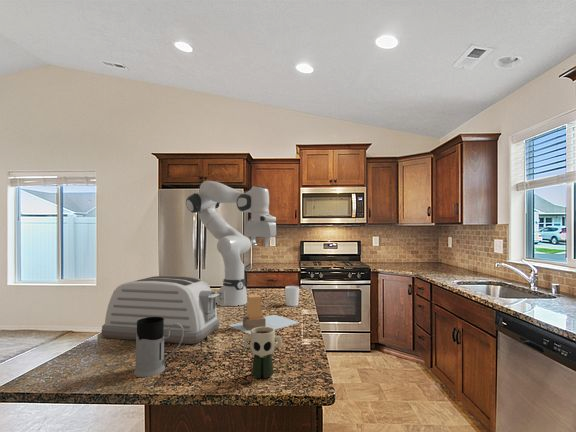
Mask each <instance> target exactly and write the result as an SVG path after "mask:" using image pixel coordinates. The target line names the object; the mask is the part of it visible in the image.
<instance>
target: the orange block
mask: <svg viewBox="0 0 576 432" xmlns="http://www.w3.org/2000/svg"><path fill="white" fill-rule="evenodd" d="M246 315H247V317H248V318H249V319H258V318H261V315H262V296H261V295H259V294H249V295H248V294H247V304H246Z"/></svg>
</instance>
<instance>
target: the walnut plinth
mask: <svg viewBox="0 0 576 432" xmlns="http://www.w3.org/2000/svg"><path fill="white" fill-rule="evenodd" d="M264 317H265V316H263V315H262V314H261V318H258V319H249V318H248V317H247V314H246V315H242V322H243V326H244V327H245V329H246V330H252V329H253V328H256V327H266V319H265V318H264Z"/></svg>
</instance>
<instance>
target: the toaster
mask: <svg viewBox="0 0 576 432" xmlns="http://www.w3.org/2000/svg"><path fill="white" fill-rule="evenodd" d="M216 293H217V292H216V291H214V290H212V289H211V287H210V285H209V284H208V283H207V282H206V281H205V280H203V279H201V278H199V277H193V276H186V275H185V276H182V275H156V276H150V277H146V278H141V279H138V280H133V281H128V282H125V283H122V284H119V285H117V287H116V288H115V289H114V290H113V292H112V295H111V297H110V299H109V301H108V302H109V303H108V304H107V308H106V313H105V317H104V319H105V320H104V324H102V326H101V333H100V334H101V335H102V336H103V337H104V338H105V339H115V340H116V339H118V340H129V341H130V340H132V341H136V330H137V321H138V320H140V319H143V318H147V317H162V318H164V337H168V331H169V328H170V326H171V325H173V324H175V323H176V324H180V325H181V326H182V327H183V331H184V332H183V339H182V342H181V344H184V345H194V344H198V343H200V342H202V341H203V340H205V339H206V338H207V337H208V336H209V335H211V333H213V332H214V331H216V330H217V329H218V328H219V327H220V318H219V317H218V311H217V304H216V297H217V296H218V295H219V294H216ZM181 338H182V329H181V327H180V326H179V325H173V326H172V327H171V329H170V335H169V337H168V338H166V339H164V343H172V344H179V343H180V341H181Z"/></svg>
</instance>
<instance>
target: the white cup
mask: <svg viewBox="0 0 576 432" xmlns="http://www.w3.org/2000/svg"><path fill="white" fill-rule="evenodd" d="M284 293H285V304H286V305H285V306H287V307H298V306H299V298H300V286H298V285H287V286H285V291H284Z"/></svg>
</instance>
